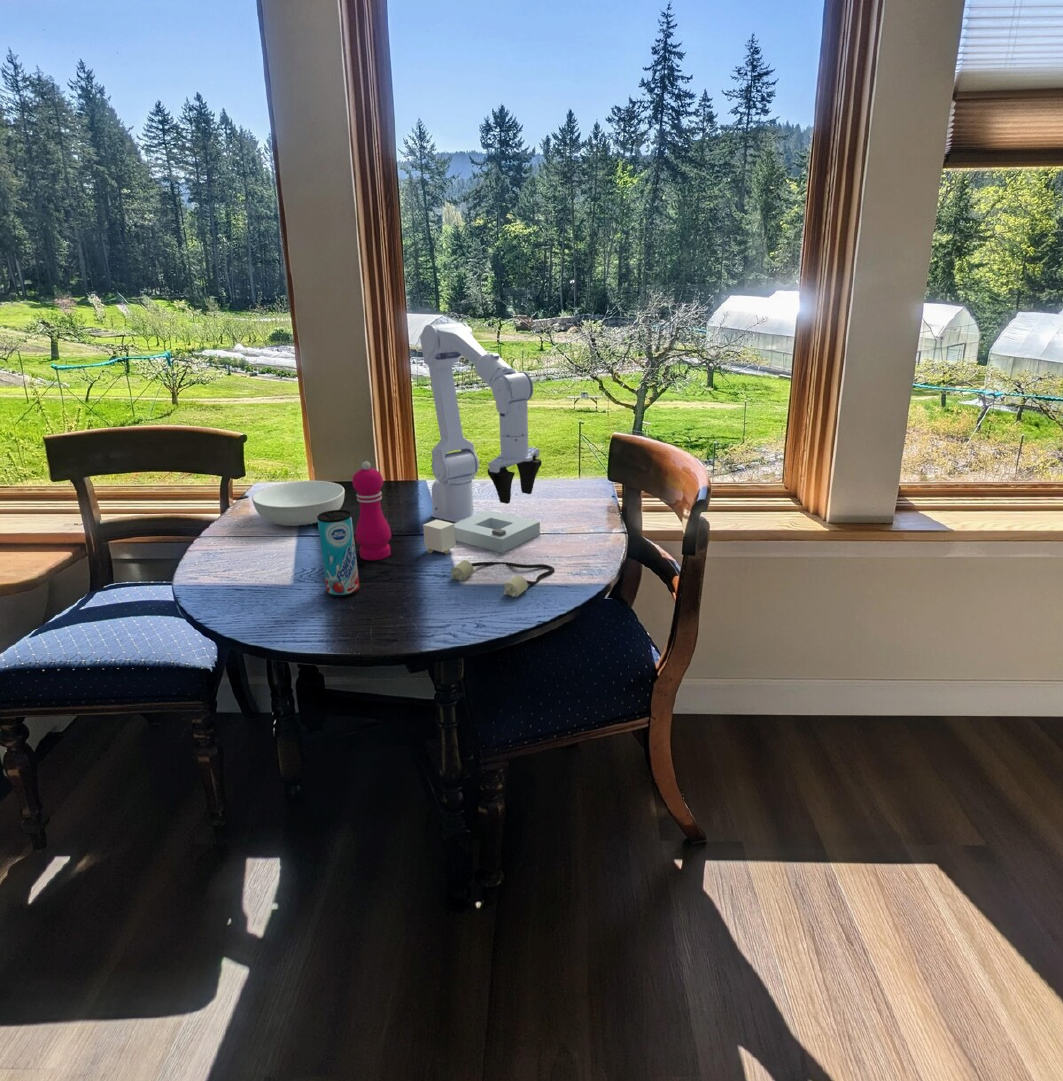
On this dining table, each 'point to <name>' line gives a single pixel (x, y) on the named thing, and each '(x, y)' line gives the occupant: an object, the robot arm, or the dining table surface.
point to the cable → (511, 587)
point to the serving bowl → (298, 501)
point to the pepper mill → (371, 515)
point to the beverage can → (338, 553)
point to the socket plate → (496, 530)
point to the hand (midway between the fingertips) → (516, 497)
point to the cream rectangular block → (439, 536)
